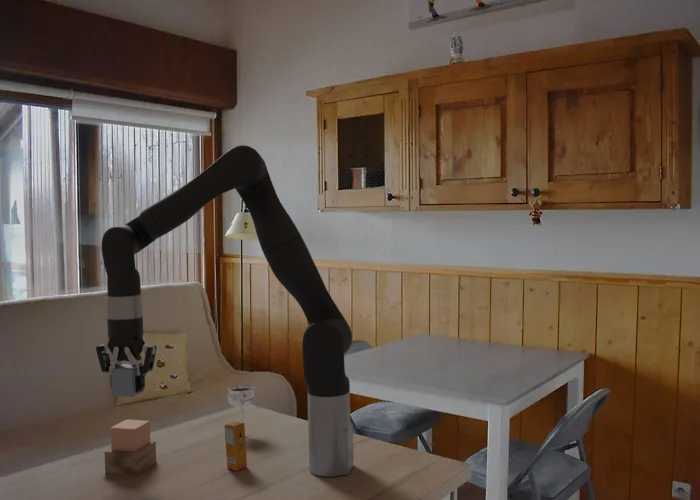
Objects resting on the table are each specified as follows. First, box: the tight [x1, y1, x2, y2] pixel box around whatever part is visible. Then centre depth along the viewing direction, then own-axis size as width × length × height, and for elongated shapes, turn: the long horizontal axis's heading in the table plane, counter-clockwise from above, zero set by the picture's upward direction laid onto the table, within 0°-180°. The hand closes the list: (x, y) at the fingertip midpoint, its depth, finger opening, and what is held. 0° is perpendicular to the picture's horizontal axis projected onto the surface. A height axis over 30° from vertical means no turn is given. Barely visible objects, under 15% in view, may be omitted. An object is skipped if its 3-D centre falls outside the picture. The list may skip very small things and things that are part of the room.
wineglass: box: [227, 384, 255, 438], centre depth 169 cm, size 7×7×12 cm
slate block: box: [110, 363, 145, 398], centre depth 147 cm, size 5×5×6 cm
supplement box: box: [224, 421, 248, 472], centre depth 146 cm, size 3×4×10 cm
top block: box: [110, 419, 151, 452], centre depth 148 cm, size 6×6×5 cm
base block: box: [104, 440, 157, 476], centre depth 148 cm, size 8×8×5 cm
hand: (127, 390), depth 147 cm, fingers closed on slate block, 5 cm apart
